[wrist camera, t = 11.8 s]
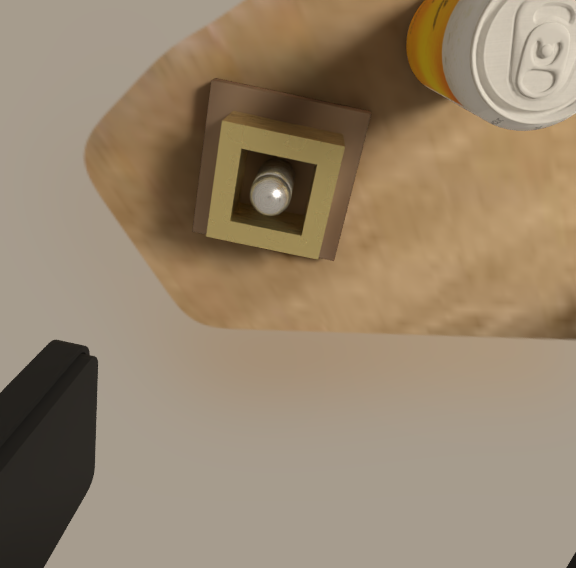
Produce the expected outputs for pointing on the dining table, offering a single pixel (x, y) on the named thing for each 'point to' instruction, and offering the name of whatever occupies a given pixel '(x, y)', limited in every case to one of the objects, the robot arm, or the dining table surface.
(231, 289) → the dining table surface
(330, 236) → the keeper block
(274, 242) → the square wooden frame
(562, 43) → the beer can
